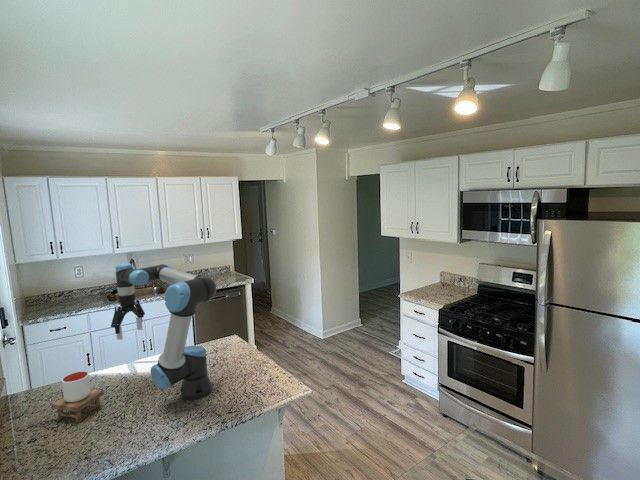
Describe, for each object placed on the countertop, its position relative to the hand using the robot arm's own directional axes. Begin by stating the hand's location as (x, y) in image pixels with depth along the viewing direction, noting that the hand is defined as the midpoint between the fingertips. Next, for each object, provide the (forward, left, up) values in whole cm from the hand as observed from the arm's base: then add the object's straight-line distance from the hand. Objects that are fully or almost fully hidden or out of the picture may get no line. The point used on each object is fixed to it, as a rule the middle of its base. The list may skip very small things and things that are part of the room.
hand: (130, 334), depth 180 cm
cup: (+8, +25, -21) cm, 34 cm away
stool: (+8, +25, -29) cm, 39 cm away
